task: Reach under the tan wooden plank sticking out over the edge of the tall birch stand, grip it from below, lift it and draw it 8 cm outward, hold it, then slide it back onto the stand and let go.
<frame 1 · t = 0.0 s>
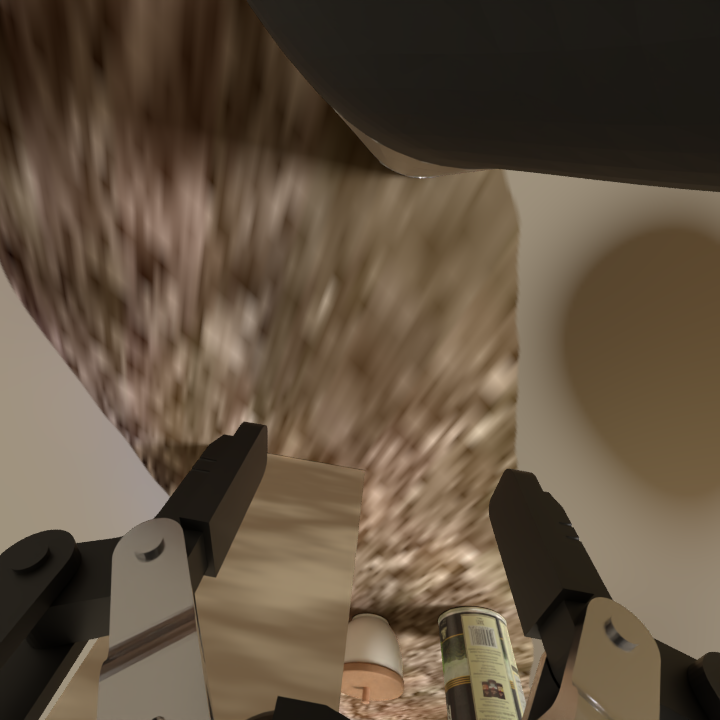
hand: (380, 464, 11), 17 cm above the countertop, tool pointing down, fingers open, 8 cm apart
coffee can: (471, 621, 50), on the countertop
lidded jar: (370, 620, 53), on the countertop
stand: (292, 498, 39), on the countertop
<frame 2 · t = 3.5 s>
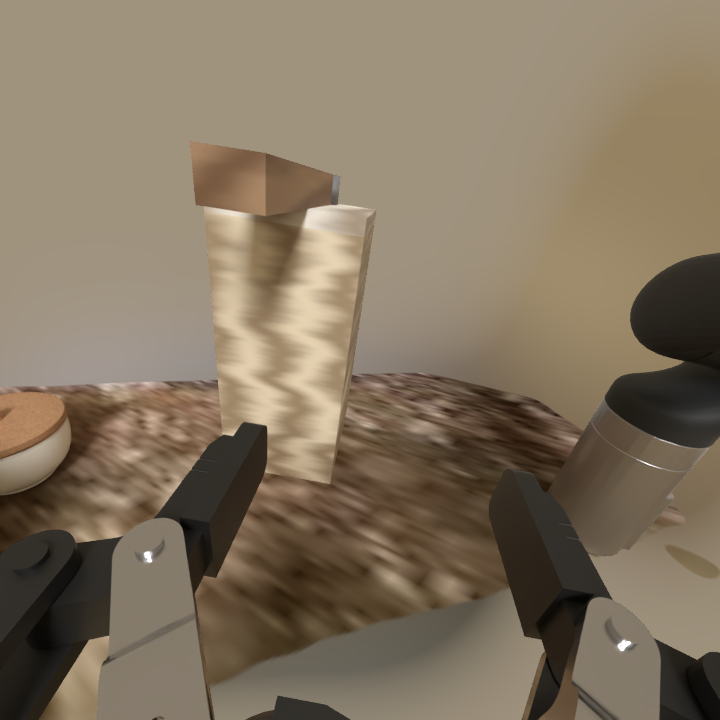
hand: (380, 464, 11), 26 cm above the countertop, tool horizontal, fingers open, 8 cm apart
lidded jar: (23, 474, 37), on the countertop
tan wooden plank: (292, 204, 29), point 32 cm above the countertop, touching stand
stand: (294, 434, 49), on the countertop
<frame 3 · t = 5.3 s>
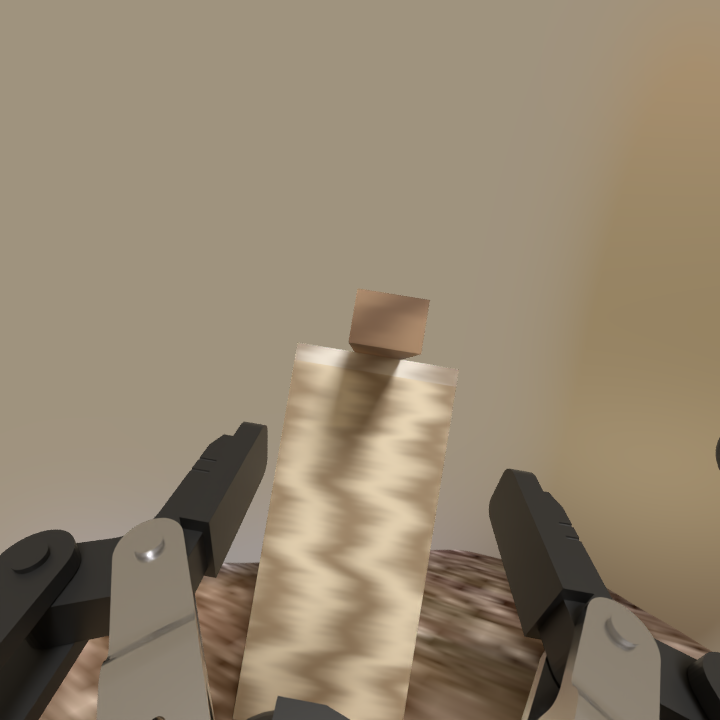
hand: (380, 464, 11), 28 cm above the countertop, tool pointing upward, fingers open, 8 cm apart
tan wooden plank: (376, 357, 30), point 32 cm above the countertop, touching stand
stand: (326, 650, 35), on the countertop
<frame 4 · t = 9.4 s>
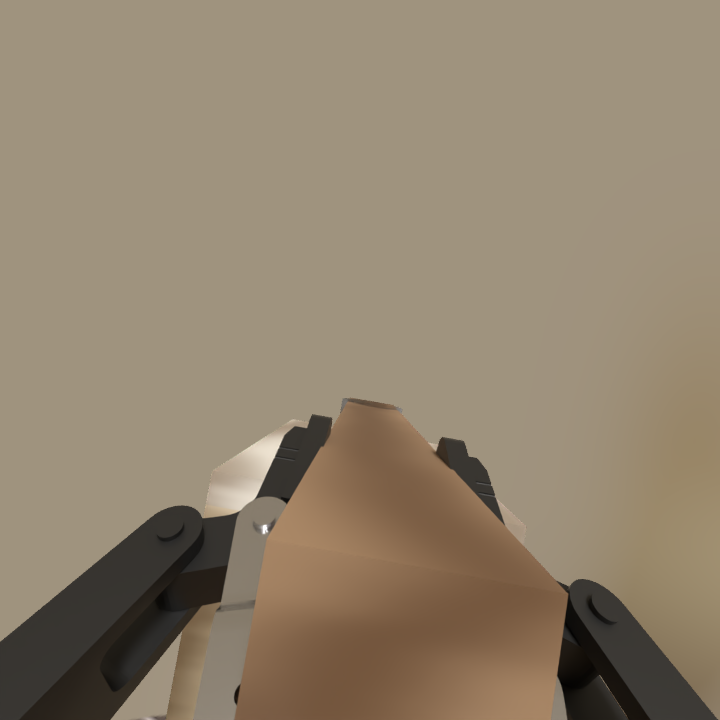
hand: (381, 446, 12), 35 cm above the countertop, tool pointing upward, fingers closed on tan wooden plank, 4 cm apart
tan wooden plank: (367, 479, 17), point 32 cm above the countertop, touching gripper, stand
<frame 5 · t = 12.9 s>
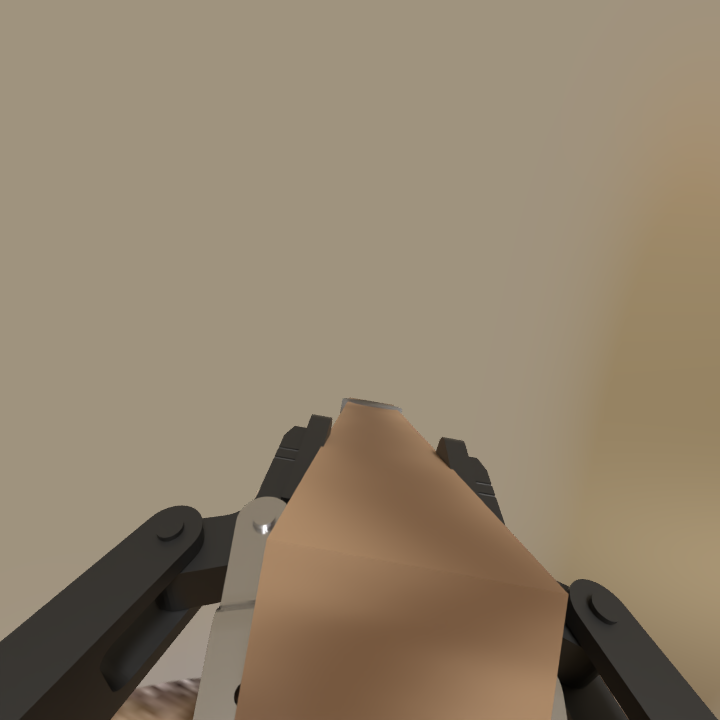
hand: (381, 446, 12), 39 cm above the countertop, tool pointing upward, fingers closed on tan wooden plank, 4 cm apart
tan wooden plank: (367, 479, 17), point 36 cm above the countertop, touching gripper
when the fingers open (36 cm above the countertop, at t = 16.4 s): tan wooden plank stays where it is, resting on stand.
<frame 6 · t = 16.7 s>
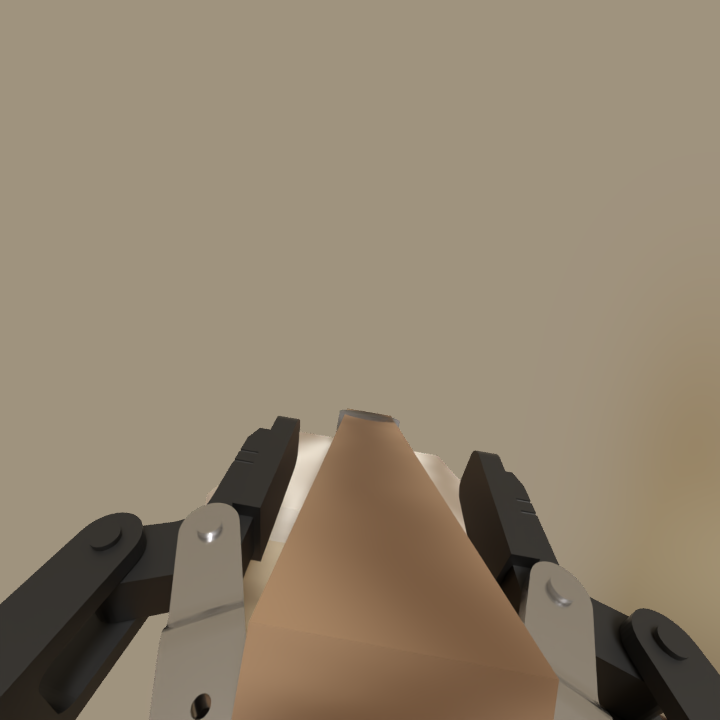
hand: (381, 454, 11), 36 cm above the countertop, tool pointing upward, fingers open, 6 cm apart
tan wooden plank: (363, 499, 16), point 32 cm above the countertop, touching stand
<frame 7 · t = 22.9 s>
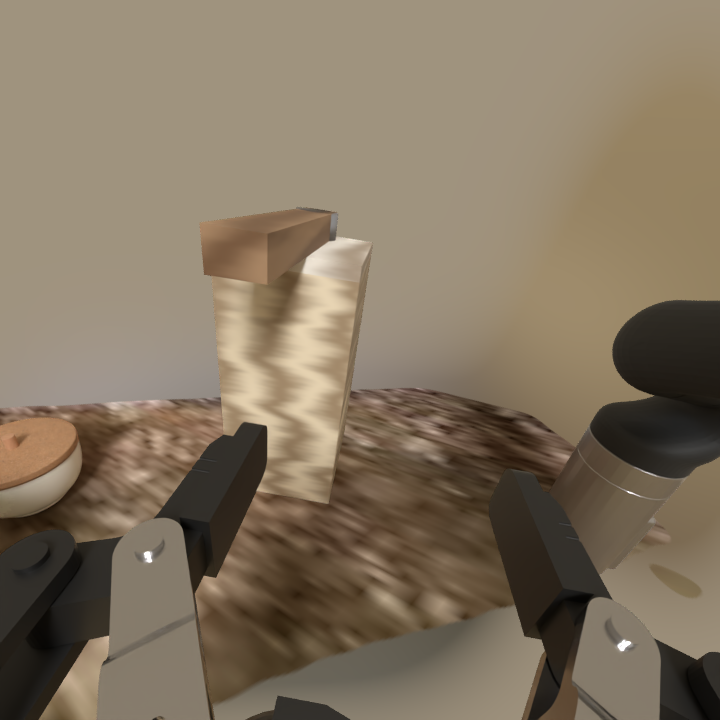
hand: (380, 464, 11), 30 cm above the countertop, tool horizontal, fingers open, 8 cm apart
lidded jar: (37, 496, 39), on the countertop
tan wooden plank: (292, 249, 31), point 32 cm above the countertop, touching stand
stand: (294, 452, 51), on the countertop
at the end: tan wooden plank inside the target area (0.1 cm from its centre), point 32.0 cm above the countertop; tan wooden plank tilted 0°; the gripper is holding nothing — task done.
